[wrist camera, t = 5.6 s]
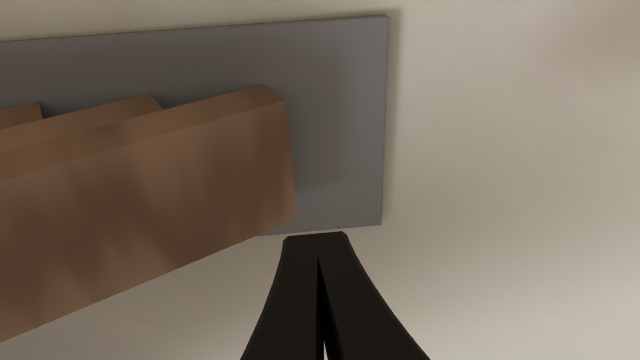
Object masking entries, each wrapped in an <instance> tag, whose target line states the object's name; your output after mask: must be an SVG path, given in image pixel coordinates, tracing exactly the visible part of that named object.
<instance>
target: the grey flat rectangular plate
mask: <svg viewBox="0 0 640 360" xmlns="http://www.w3.org/2000/svg"><path fill="white" fill-rule="evenodd" d="M387 38H388V16H387V15H374V16H360V17H346V18H331V19H317V20H303V21H289V22H275V23H261V24H246V25H232V26H218V27H204V28H190V29H176V30H162V31H147V32H133V33H119V34H105V35H91V36H77V37H63V38H48V39H34V40H20V41H6V42H0V110H3V109H8V108H12V107H16V106H21V105H25V104H30V103H34V102H39V104H40V106H41V109H42V111H43V113H44V116H45V118H50V117H54V116H58V115H62V114H66V113H70V112H74V111H79V110H83V109H87V108H91V107H95V106H99V105H103V104H107V103H111V102H115V101H119V100H123V99H128V98H132V97H136V96H140V95H144V94H148V93H150V94H151V95H152V97H153V98H154V99H155V100H156V101H157V102H158V104H159V105H160V106H161V107H162V108H163V110H165V109H169V108H173V107H177V106H181V105H184V104H188V103H192V102H196V101H200V100H203V99H207V98H211V97H215V96H219V95H223V94H226V93H230V92H234V91H238V90H242V89H246V88H249V87H253V86H257V85H261V84H262V85H264V86H266V87H267V88H269V89H270V90H272V91H273V92H275V93H276V94H278V95H279V96H281V97H282V98H284V99H285V100H286V106H287V116H288V127H289V137H290V148H291V158H292V168H293V179H294V189H295V200H296V210H297V219H295V220H292V221H290V222H287V223H285V224H283V225H280V226H278V227H275V228H273V229H271V230H268V231H266V232H263V233H261V234H259V235H256V236H263V235H274V234H285V233H296V232H307V231H318V230H329V229H340V228H351V227H362V226H372V225H381V216H382V186H383V156H384V127H385V97H386V68H387Z"/></svg>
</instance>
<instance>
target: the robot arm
mask: <svg viewBox="0 0 640 360" xmlns="http://www.w3.org/2000/svg"><path fill="white" fill-rule="evenodd" d="M324 343H325V348H326V353H327V358H328V360H430V358H429V357H428V356H427V355H426V354H425V353H424V351H423V350H422V349H421V348H420V347H419V345H418V344H417V343H416V342H415V341H414V339H413V338H412V337H411V336H410V334H409V333H408V332H407V330H406V329H405V328H404V327H403V325H402V324H401V323H400V321H399V320H398V319H397V317H396V316H395V315H394V313H393V312H392V311H391V309H390V308H389V306H388V305H387V304H386V302H385V301H384V299H383V298H382V296H381V295H380V293H379V292H378V290H377V289H376V287H375V286H374V284H373V283H372V281H371V280H370V278H369V276H368V275H367V273H366V272H365V270H364V268H363V266H362V265H361V263H360V261H359V259H358V258H357V256H356V254H355V252H354V250H353V248H352V246H351V244H350V242H349V239H348V237H347V235H346V234H345V233H344V232H342V231H339V232H328V233H317V234H306V235H295V236H288V237H287V238H286V239H284V240H283V247H282V252H281V257H280V261H279V265H278V268H277V272H276V275H275V278H274V281H273V284H272V287H271V289H270V292H269V295H268V297H267V300H266V303H265V305H264V308H263V311H262V313H261V316H260V318H259V320H258V322H257V325H256V327H255V329H254V331H253V333H252V336H251V338H250V340H249V342H248V344H247V347H246V349H245V351H244V353H243V355H242V357H241V359H240V360H324Z"/></svg>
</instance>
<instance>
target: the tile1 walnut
mask: <svg viewBox="0 0 640 360" xmlns="http://www.w3.org/2000/svg"><path fill="white" fill-rule="evenodd" d="M295 219H297V210H296V200H295V189H294V179H293V168H292V158H291V148H290V137H289V127H288V116H287V106H286V100H285V99H284V98H282V97H281V96H279V95H278V94H276V93H275V92H273V91H272V90H270V89H269V88H267V87H266V86H264V85H262V84H261V85H257V86H253V87H249V88H246V89H242V90H238V91H234V92H230V93H226V94H223V95H219V96H215V97H211V98H207V99H203V100H200V101H196V102H192V103H188V104H184V105H181V106H177V107H173V108H169V109H165V110H161V111H158V112H154V113H150V114H146V115H142V116H139V117H135V118H131V119H127V120H123V121H119V122H116V123H112V124H108V125H104V126H100V127H96V128H93V129H89V130H85V131H81V132H77V133H74V134H70V135H66V136H62V137H58V138H54V139H51V140H47V141H43V142H39V143H35V144H31V145H28V146H24V147H20V148H16V149H12V150H9V151H5V152H1V153H0V342H2V341H4V340H7V339H9V338H12V337H14V336H16V335H19V334H21V333H24V332H26V331H28V330H31V329H33V328H36V327H38V326H40V325H43V324H45V323H48V322H50V321H52V320H55V319H57V318H60V317H62V316H64V315H67V314H69V313H72V312H74V311H76V310H79V309H81V308H84V307H86V306H88V305H91V304H93V303H96V302H98V301H100V300H103V299H105V298H108V297H110V296H112V295H115V294H117V293H120V292H122V291H124V290H127V289H129V288H132V287H134V286H136V285H139V284H141V283H144V282H146V281H148V280H151V279H153V278H156V277H158V276H160V275H163V274H165V273H167V272H170V271H172V270H175V269H177V268H179V267H182V266H184V265H187V264H189V263H191V262H194V261H196V260H199V259H201V258H203V257H206V256H208V255H211V254H213V253H215V252H218V251H220V250H223V249H225V248H227V247H230V246H232V245H235V244H237V243H239V242H242V241H244V240H247V239H249V238H251V237H254V236H256V235H259V234H261V233H263V232H266V231H268V230H271V229H273V228H275V227H278V226H280V225H283V224H285V223H287V222H290V221H292V220H295Z"/></svg>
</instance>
